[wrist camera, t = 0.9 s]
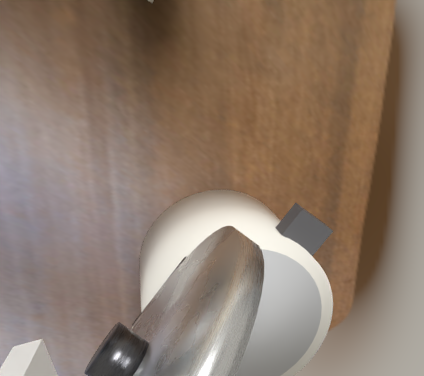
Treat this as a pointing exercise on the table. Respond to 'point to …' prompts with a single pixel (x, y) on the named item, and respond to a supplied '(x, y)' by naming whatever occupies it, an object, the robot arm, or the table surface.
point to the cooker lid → (192, 315)
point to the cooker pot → (273, 272)
